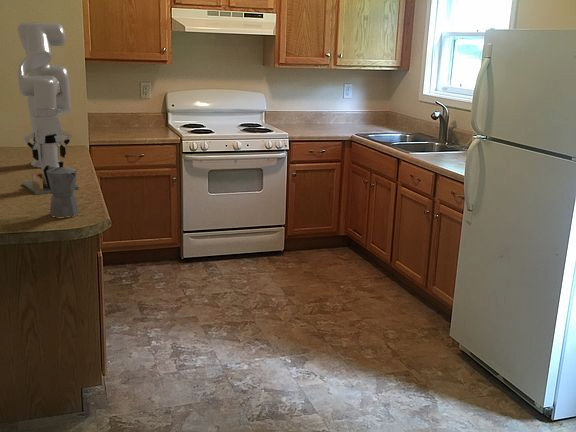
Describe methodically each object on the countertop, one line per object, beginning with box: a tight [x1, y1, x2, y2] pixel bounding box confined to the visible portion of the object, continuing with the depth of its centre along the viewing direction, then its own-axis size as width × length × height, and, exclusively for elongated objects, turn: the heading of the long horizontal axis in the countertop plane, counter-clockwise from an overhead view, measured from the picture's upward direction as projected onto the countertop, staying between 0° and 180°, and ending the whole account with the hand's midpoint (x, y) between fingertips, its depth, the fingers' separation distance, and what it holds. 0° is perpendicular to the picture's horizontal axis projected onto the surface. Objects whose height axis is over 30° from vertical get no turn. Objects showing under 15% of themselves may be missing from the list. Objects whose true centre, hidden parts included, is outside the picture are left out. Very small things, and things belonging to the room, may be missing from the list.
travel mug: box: [40, 134, 60, 187], centre depth 238 cm, size 6×7×20 cm
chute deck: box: [21, 172, 80, 195], centre depth 242 cm, size 17×16×5 cm
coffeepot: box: [44, 160, 80, 217], centre depth 208 cm, size 15×9×18 cm, turn 57°
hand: (49, 158), depth 238 cm, fingers open, 9 cm apart
